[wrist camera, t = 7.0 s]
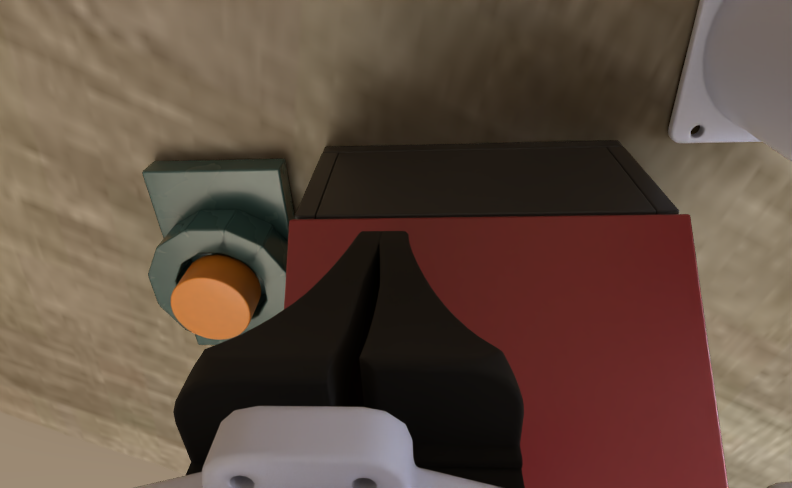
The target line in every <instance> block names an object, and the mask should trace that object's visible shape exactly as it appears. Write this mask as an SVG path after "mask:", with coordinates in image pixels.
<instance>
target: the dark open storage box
mask: <svg viewBox="0 0 792 488" xmlns="http://www.w3.org/2000/svg"><path fill="white" fill-rule="evenodd" d="M678 213H679V210H678V209H677V208H676V207H675V205H674V204H673V203H672V202H671V201H670V200H669V198H668V197H667V196H666V195H665V194H664V193H663V191H662V190H661V189H660V188H659V187H658V186H657V185H656V183H655V182H654V181H653V180H652V179H651V178H650V176H649V175H648V174H647V173H646V172H645V171H644V170H643V168H642V167H641V166H640V165H639V164H638V163H637V161H636V160H635V159H634V158H633V157H632V156H631V154H630V153H629V152H628V151H627V150H626V149H625V148H624V147H623V146H622V144H621V143H620V142H619V141H617V140H616V141H570V142H525V143H480V144H434V145H389V146H344V147H325V149H324V151H323V153H322V155H321V157H320V159H319V162H318V164H317V166H316V168H315V171H314V173H313V175H312V178H311V180H310V182H309V184H308V187H307V189H306V191H305V194H304V196H303V198H302V201H301V203H300V205H299V207H298V210H297V212H296V214H295V219H364V218H439V217H514V216H590V215H665V214H678Z"/></svg>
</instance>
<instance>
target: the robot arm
mask: <svg viewBox="0 0 792 488" xmlns="http://www.w3.org/2000/svg"><path fill="white" fill-rule="evenodd" d="M697 125H700V129H699V131H698V132H697V133H695V134H691V130H692V128H694V127H695V126H697ZM668 134H669V137H670V138H671V139H672V140H674V141H675V142H676V143H717V142H763V143H765V144H766V145H768V146H769V147H771V148H772V149H774V150H775V151H777V152H778V153H780V154H781V155H783V156H784V157H786V158H787V159H789V160H790V161H792V0H700V2H699V6H698V10H697V14H696V18H695V22H694V26H693V30H692V34H691V38H690V42H689V47H688V51H687V55H686V59H685V63H684V67H683V71H682V75H681V79H680V83H679V87H678V91H677V96H676V100H675V104H674V108H673V112H672V116H671V120H670V124H669V128H668ZM173 412H174V417H175V422H176V425H177V428H178V430H179V433H180V435H181V438H182V440H183V443H184V445H185V448H186V450H187V452H188V455H189V457H190V460H191V464H190V466H189V469H188V471H187V473H186V476H182V477H177V478H173V479H169V480H165V481H160V482H156V483H152V484H147V485H143V486H139V487H135V488H525V486H524V480H523V475H522V469H521V468H522V465H523V460H522V454H521V448H520V441H521V433H522V426H523V418H524V403H523V398H522V394H521V391H520V388H519V385H518V383H517V380H516V378H515V375H514V373H513V371H512V369H511V367H510V365H509V363H508V361H507V359H506V357H505V355H504V353H503V352H502V351H501V350H500V349H498V348H497V347H495V346H493V345H492V344H490V343H488V342H487V341H485V340H484V339H482V338H480V337H479V336H477V335H476V334H475V333H473V332H472V331H471V330H470V329H468V328H467V327H466V326H465V325H464V324H463V323H462V322H461V321H460V320H459V319H457V318H456V317H455V316H454V315H453V314H452V313H451V312H450V310H449V309H448V308H447V307H446V306H445V305H444V304H443V302H442V301H441V300H440V299H439V297H438V296H437V295H436V293H435V292H434V291H433V289H432V288H431V286H430V285H429V283H428V281H427V280H426V278H425V277H424V275H423V273H422V271H421V269H420V267H419V265H418V263H417V261H416V259H415V257H414V254H413V252H412V249H411V246H410V242H409V234H408V233H407V232H406V231H361V232H360V233H359V234H358V235H357V237H356V238H355V239H354V241H353V242H352V243H351V245H350V246H349V247H348V249H347V250H346V251H345V253H344V254H343V255H342V256H341V257H340V259H339V260H338V261H337V262H336V263H335V264H334V266H333V267H332V268H331V269H330V270H329V271H328V272H327V273H326V274H325V275H324V276H323V277H322V278H321V279H320V280H319V281H318V282H317V283H316V284H315V285H314V286H313V287H312V288H311V289H310V290H309V291H308V292H307V293H306V294H304V295H303V296H302V297H301V298H299V299H298V300H297V301H296V302H294V303H293V304H292V305H290V306H289V307H287V308H286V309H284V310H283V311H281V312H280V313H278V314H277V315H275V316H274V317H272V318H270V319H269V320H267V321H265V322H264V323H262V324H260V325H258V326H256V327H254V328H253V329H251V330H249V331H247V332H245V333H243V334H241V335H238V336H236V337H234V338H232V339H229V340H227V341H224V342H222V343H220V344H217V345H215V346H212V347H210V348H207V349H205V350H204V351H203V353H202V355H201V356H200V358H199V359H198V361H197V362H196V363H195V365H194V367H193V369H192V370H191V372H190V374H189V376H188V378H187V380H186V382H185V384H184V386H183V388H182V389H181V391H180V393H179V395H178V397H177V399H176V401H175V406H174V411H173ZM767 488H792V482H781V483H775V484H773V485H771V486H768V487H767Z"/></svg>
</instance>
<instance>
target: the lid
mask: <svg viewBox="0 0 792 488" xmlns="http://www.w3.org/2000/svg"><path fill="white" fill-rule="evenodd" d="M361 231H406V232H407V233H408V234H409V242H410V246H411V249H412V252H413V254H414V257H415V259H416V261H417V263H418V265H419V267H420V269H421V271H422V273H423V275H424V277H425V278H426V280H427V281H428V283H429V285H430V286H431V288H432V289H433V291H434V292H435V293H436V295H437V296H438V297H439V299H440V300H441V301H442V302H443V304H444V305H445V306H446V307H447V308H448V309H449V310H450V312H451V313H452V314H453V315H454V316H455V317H456V318H457V319H459V320H460V321H461V322H462V323H463V324H464V325H465V326H466V327H467V328H468V329H470V330H471V331H472V332H473V333H475V334H476V335H477V336H479V337H480V338H482V339H484V340H485V341H487V342H488V343H490V344H492V345H493V346H495V347H497V348H498V349H500V350H501V351H502V352H503V353H504V355H505V357H506V359H507V361H508V363H509V365H510V367H511V369H512V371H513V373H514V375H515V378H516V380H517V383H518V385H519V388H520V391H521V394H522V398H523V403H524V418H523V426H522V433H521V441H520V448H521V454H522V460H523V465H522V468H521V469H522V475H523V480H524V486H525V488H729V487H728V480H727V473H726V466H725V459H724V452H723V445H722V438H721V430H720V423H719V416H718V409H717V402H716V395H715V388H714V381H713V374H712V367H711V360H710V353H709V346H708V338H707V331H706V324H705V317H704V310H703V303H702V296H701V289H700V282H699V275H698V268H697V261H696V254H695V247H694V239H693V232H692V225H691V218H690V215H688V214H665V215H590V216H514V217H439V218H364V219H292V220H290V221H289V233H288V250H287V267H286V284H285V301H284V309H286V308H287V307H289V306H290V305H292V304H293V303H294V302H296V301H297V300H298V299H299V298H301V297H302V296H303V295H304V294H306V293H307V292H308V291H309V290H310V289H311V288H312V287H313V286H314V285H315V284H316V283H317V282H318V281H319V280H320V279H321V278H322V277H323V276H324V275H325V274H326V273H327V272H328V271H329V270H330V269H331V268H332V267H333V266H334V264H335V263H336V262H337V261H338V260H339V259H340V257H341V256H342V255H343V254H344V253H345V251H346V250H347V249H348V247H349V246H350V245H351V243H352V242H353V241H354V239H355V238H356V237H357V235H358V234H359V233H360V232H361Z"/></svg>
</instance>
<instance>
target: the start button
mask: <svg viewBox="0 0 792 488" xmlns="http://www.w3.org/2000/svg"><path fill="white" fill-rule="evenodd" d="M260 297H261V286H260V283H259V280H258V278H257V276H256V275H255V273H254V272H253V271H252V270H251V269H250V268H249V267H248V266H247V265H245V264H244V263H242V262H241V261H239V260H237V259H235V258H232V257H229V256H225V255H208V256H204V257H201V258H199V259H197V260H195V261H194V262H193V263H192V264H191V265H190V266H189V268H188V269H187V271H186V272H185V274H184V275H183V277H182V278H181V280H180V281H179V283H178V284H177V285H176V287H175V288H174V290H173V292H172V295H171V308H172V311H173V313H174V315H175V317H176V318H177V320H178V321H179V322H180V323H181V324H182V325H183V326H184V327H185V328H187V329H188V330H189V331H191V332H193V333H195V334H197V335H199V336H202V337H205V338H209V339H217V340H221V339H229V338H233V337H235V336H237V335H239V334H241V333H242V332H243V331H244V330H245V329H246V328H247V327H248V325H249V323H250V321H251V318H252V316H253V314H254V312H255V309H256V307H257V305H258V302H259V300H260Z"/></svg>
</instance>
